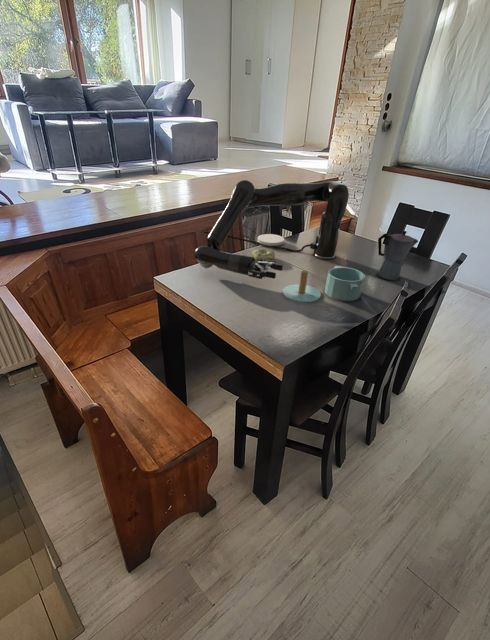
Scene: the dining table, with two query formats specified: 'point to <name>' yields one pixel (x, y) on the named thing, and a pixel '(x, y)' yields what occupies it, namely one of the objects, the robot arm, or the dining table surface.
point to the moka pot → (395, 254)
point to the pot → (344, 283)
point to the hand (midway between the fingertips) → (279, 271)
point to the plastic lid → (270, 239)
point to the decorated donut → (263, 254)
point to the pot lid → (302, 291)
